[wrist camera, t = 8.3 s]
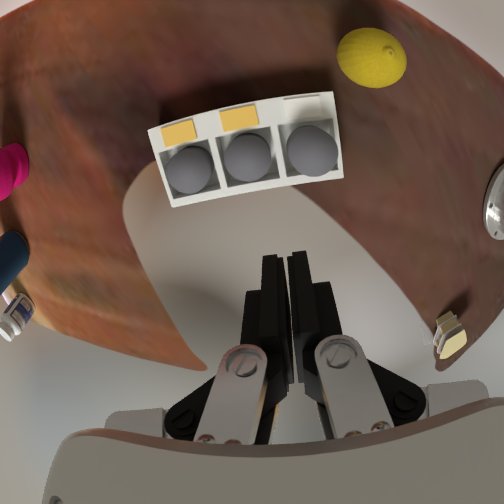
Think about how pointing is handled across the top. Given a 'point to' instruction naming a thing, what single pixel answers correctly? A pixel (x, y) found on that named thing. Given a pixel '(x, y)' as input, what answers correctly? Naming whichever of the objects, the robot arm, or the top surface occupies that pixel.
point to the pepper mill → (12, 168)
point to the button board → (247, 121)
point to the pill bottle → (16, 316)
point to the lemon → (371, 57)
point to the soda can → (12, 257)
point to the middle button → (248, 157)
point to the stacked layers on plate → (445, 335)
